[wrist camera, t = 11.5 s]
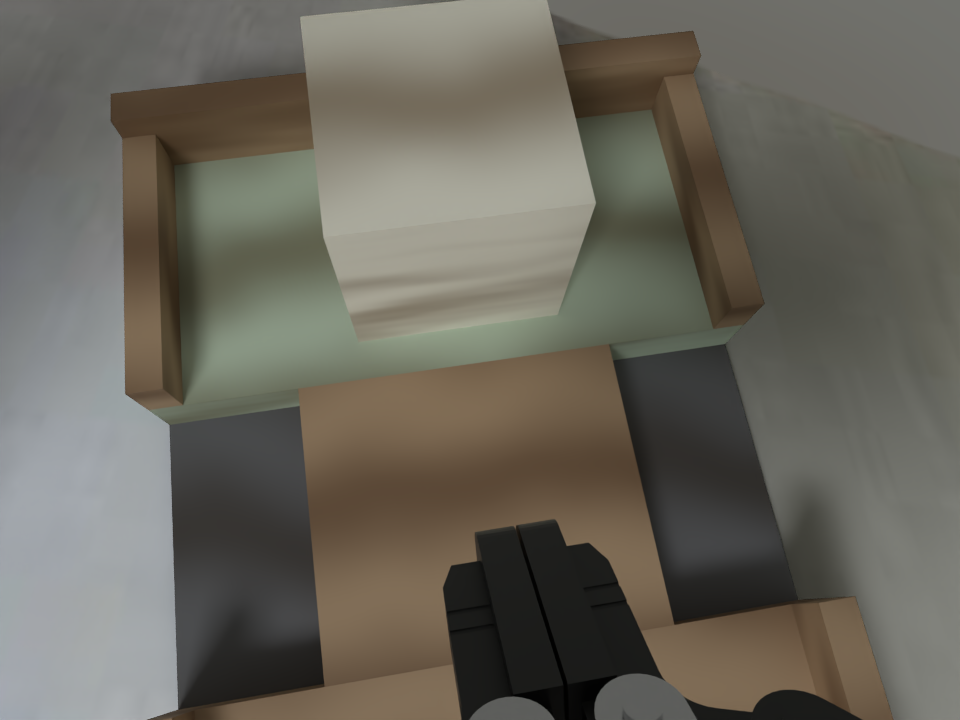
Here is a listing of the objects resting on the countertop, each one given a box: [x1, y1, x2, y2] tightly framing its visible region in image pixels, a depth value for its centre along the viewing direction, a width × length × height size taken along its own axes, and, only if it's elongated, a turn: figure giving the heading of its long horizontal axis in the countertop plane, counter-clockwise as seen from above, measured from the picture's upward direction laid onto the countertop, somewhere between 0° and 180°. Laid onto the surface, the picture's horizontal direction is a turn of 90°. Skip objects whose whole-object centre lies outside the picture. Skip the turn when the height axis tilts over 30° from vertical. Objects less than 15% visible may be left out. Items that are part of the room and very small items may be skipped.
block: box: [300, 0, 596, 342], centre depth 25 cm, size 8×8×8 cm
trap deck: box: [111, 31, 893, 720], centre depth 26 cm, size 31×22×6 cm
